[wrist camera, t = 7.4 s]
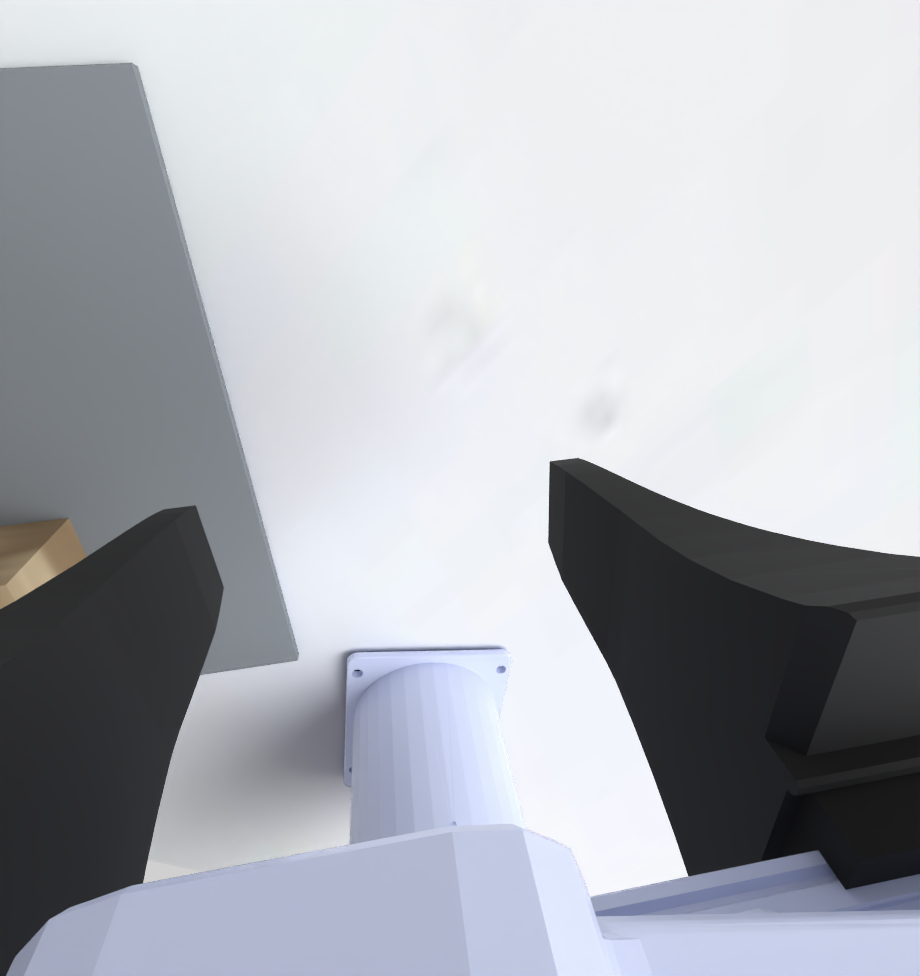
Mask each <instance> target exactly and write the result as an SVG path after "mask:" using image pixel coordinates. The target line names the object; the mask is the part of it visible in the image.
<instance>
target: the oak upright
mask: <svg viewBox="0 0 920 976" xmlns="http://www.w3.org/2000/svg"><path fill="white" fill-rule="evenodd" d="M86 557H87V555H86V553H85V551H84V549H83V547H82V545H81V543H80V541H79V538H78V536H77V534H76V532H75V530H74V528H73V526H72V524H71V522H70V519H69V518H67V519H58V520H50V521H41V522H33V523H25V524H16V525H8V526H0V609H1V608H3V607H5V606H7V605H9V604H10V603H12V602H14V601H16V600H17V599H19V598H21V597H23V596H24V595H26V594H28V593H29V592H31V591H33V590H34V589H36V588H37V587H39V586H41V585H42V584H44V583H46V582H47V581H49V580H50V579H52V578H54V577H55V576H57V575H59V574H60V573H62V572H63V571H65V570H67V569H68V568H70V567H72V566H73V565H75V564H76V563H78V562H80V561H81V560H83V559H84V558H86Z"/></svg>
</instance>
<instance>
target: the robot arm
mask: <svg viewBox="0 0 920 976" xmlns="http://www.w3.org/2000/svg"><path fill="white" fill-rule="evenodd" d="M548 543H549V546H550V549H551V551H552V554H553V557H554V560H555V563H556V566H557V568H558V571H559V573H560V576H561V579H562V581H563V583H564V585H565V587H566V589H567V590H568V592H569V594H570V596H571V598H572V600H573V602H574V604H575V605H576V607H577V609H578V611H579V613H580V615H581V616H582V618H583V620H584V622H585V624H586V626H587V627H588V629H589V631H590V633H591V635H592V637H593V638H594V640H595V642H596V644H597V646H598V648H599V649H600V651H601V653H602V655H603V657H604V658H605V660H606V662H607V664H608V666H609V668H610V670H611V672H612V674H613V677H614V679H615V681H616V683H617V685H618V688H619V690H620V693H621V695H622V697H623V700H624V702H625V705H626V707H627V710H628V712H629V715H630V717H631V719H632V722H633V724H634V727H635V729H636V732H637V735H638V737H639V740H640V742H641V745H642V748H643V750H644V753H645V755H646V758H647V760H648V763H649V766H650V768H651V771H652V773H653V776H654V779H655V782H656V784H657V787H658V790H659V793H660V796H661V798H662V801H663V804H664V807H665V809H666V812H667V815H668V818H669V821H670V823H671V826H672V829H673V832H674V834H675V837H676V840H677V843H678V846H679V849H680V852H681V855H682V858H683V861H684V864H685V867H686V870H687V873H688V876H689V877H684V878H680V879H675V880H670V881H665V882H660V883H655V884H650V885H646V886H641V887H636V888H631V889H626V890H621V891H616V892H611V893H607V894H602V895H597V896H592V897H590V896H589V893H588V890H587V886H586V883H585V880H584V878H583V876H582V873H581V871H580V869H579V867H578V864H577V862H576V860H575V858H574V855H573V853H572V851H571V849H570V848H568V847H567V846H565V845H563V844H561V843H559V842H557V841H555V840H552V839H550V838H547V837H545V836H542V835H540V834H537V833H535V832H532V831H530V830H527V829H526V825H525V821H524V817H523V813H522V809H521V805H520V800H519V796H518V792H517V788H516V784H515V780H514V776H513V772H512V768H511V764H510V760H509V756H508V752H507V748H506V744H505V740H504V736H503V732H502V728H501V724H500V716H501V711H502V706H503V701H504V697H505V692H506V687H507V683H508V678H509V673H510V668H511V664H512V657H511V654H510V652H509V651H507V650H503V649H498V650H450V651H401V652H357V653H353V654H351V655H350V656H349V657H348V659H347V678H346V716H345V754H344V784H345V785H346V786H348V787H351V818H350V845H345V846H340V847H335V848H329V849H324V850H319V851H313V852H308V853H303V854H297V855H292V856H287V857H281V858H276V859H271V860H265V861H260V862H255V863H249V864H244V865H238V866H233V867H228V868H222V869H217V870H212V871H206V872H201V873H196V874H191V875H185V876H180V877H175V878H169V879H164V880H158V881H153V882H149V883H143V880H144V875H145V869H146V864H147V860H148V855H149V851H150V846H151V841H152V837H153V832H154V827H155V823H156V818H157V814H158V809H159V805H160V801H161V797H162V793H163V788H164V784H165V780H166V776H167V772H168V768H169V764H170V760H171V756H172V753H173V749H174V746H175V743H176V740H177V737H178V734H179V731H180V728H181V725H182V722H183V720H184V717H185V714H186V712H187V709H188V706H189V703H190V701H191V698H192V695H193V692H194V690H195V687H196V684H197V682H198V679H199V676H200V673H201V671H202V668H203V665H204V662H205V660H206V657H207V654H208V651H209V648H210V646H211V643H212V640H213V637H214V634H215V631H216V627H217V622H218V617H219V613H220V607H221V602H222V596H223V590H224V586H223V583H222V580H221V577H220V574H219V571H218V569H217V566H216V563H215V560H214V557H213V554H212V551H211V548H210V545H209V542H208V540H207V537H206V534H205V531H204V528H203V525H202V522H201V519H200V516H199V513H198V510H197V508H196V505H194V506H186V507H178V508H170V509H163V510H161V511H159V512H157V513H155V514H153V515H151V516H149V517H148V518H146V519H144V520H143V521H141V522H139V523H138V524H136V525H135V526H133V527H131V528H130V529H128V530H127V531H125V532H124V533H122V534H121V535H119V536H118V537H116V538H115V539H113V540H112V541H110V542H108V543H107V544H105V545H104V546H102V547H101V548H99V549H98V550H96V551H95V552H93V553H92V554H90V555H89V556H87V557H86V558H84V559H83V560H81V561H80V562H78V563H76V564H75V565H73V566H72V567H70V568H68V569H67V570H65V571H63V572H62V573H60V574H59V575H57V576H55V577H54V578H52V579H50V580H49V581H47V582H46V583H44V584H42V585H41V586H39V587H37V588H36V589H34V590H33V591H31V592H29V593H28V594H26V595H24V596H23V597H21V598H19V599H17V600H16V601H14V602H12V603H10V604H9V605H7V606H5V607H3V608H1V609H0V976H920V557H915V556H905V555H895V554H887V553H880V552H874V551H867V550H861V549H854V548H848V547H842V546H836V545H830V544H825V543H820V542H814V541H809V540H805V539H800V538H796V537H792V536H787V535H783V534H778V533H774V532H770V531H766V530H762V529H758V528H755V527H751V526H747V525H744V524H741V523H737V522H734V521H731V520H728V519H724V518H721V517H718V516H715V515H712V514H709V513H706V512H703V511H700V510H698V509H695V508H692V507H690V506H687V505H685V504H682V503H680V502H677V501H675V500H672V499H670V498H667V497H665V496H662V495H660V494H658V493H655V492H653V491H651V490H649V489H646V488H644V487H642V486H640V485H638V484H636V483H633V482H631V481H629V480H627V479H625V478H623V477H621V476H619V475H616V474H614V473H612V472H610V471H608V470H606V469H604V468H602V467H599V466H597V465H595V464H593V463H590V462H588V461H585V460H582V459H579V458H575V459H567V460H558V461H550V478H549V536H548ZM499 666H502V667H499ZM498 667H499V668H498ZM357 669H358V670H361V671H354V670H357Z"/></svg>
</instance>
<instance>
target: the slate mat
mask: <svg viewBox="0 0 920 976" xmlns="http://www.w3.org/2000/svg"><path fill="white" fill-rule="evenodd" d="M194 505H196V508H197V510H198V513H199V516H200V519H201V522H202V525H203V528H204V531H205V534H206V537H207V540H208V542H209V545H210V548H211V551H212V554H213V557H214V560H215V563H216V566H217V569H218V571H219V574H220V577H221V580H222V583H223V586H224V590H223V596H222V602H221V607H220V613H219V617H218V622H217V627H216V631H215V634H214V637H213V640H212V643H211V646H210V648H209V651H208V654H207V657H206V660H205V662H204V665H203V668H202V671H201V673H200V675H203V674H210V673H217V672H223V671H230V670H237V669H243V668H250V667H257V666H264V665H270V664H277V663H284V662H290V661H297V660H298V655H299V653H298V650H297V646H296V642H295V639H294V635H293V631H292V628H291V624H290V620H289V617H288V613H287V609H286V606H285V602H284V598H283V595H282V591H281V588H280V584H279V580H278V577H277V573H276V569H275V566H274V562H273V558H272V555H271V551H270V547H269V544H268V540H267V536H266V533H265V529H264V526H263V522H262V518H261V515H260V511H259V507H258V504H257V500H256V496H255V493H254V489H253V485H252V482H251V478H250V474H249V471H248V467H247V464H246V460H245V456H244V453H243V449H242V445H241V442H240V438H239V434H238V431H237V427H236V423H235V420H234V416H233V412H232V409H231V405H230V401H229V398H228V394H227V391H226V387H225V383H224V380H223V376H222V372H221V369H220V365H219V361H218V358H217V354H216V350H215V347H214V343H213V339H212V336H211V332H210V329H209V325H208V321H207V318H206V314H205V310H204V307H203V303H202V299H201V296H200V292H199V288H198V285H197V281H196V277H195V274H194V270H193V267H192V263H191V259H190V256H189V252H188V248H187V245H186V241H185V237H184V234H183V230H182V226H181V223H180V219H179V215H178V212H177V208H176V204H175V201H174V197H173V194H172V190H171V186H170V183H169V179H168V175H167V172H166V168H165V164H164V161H163V157H162V153H161V150H160V146H159V142H158V139H157V135H156V132H155V128H154V124H153V121H152V117H151V113H150V110H149V106H148V102H147V99H146V95H145V91H144V88H143V84H142V80H141V77H140V73H139V69H138V66H136V65H135V64H133V63H121V64H96V65H72V66H47V67H22V68H0V526H8V525H16V524H25V523H33V522H41V521H50V520H58V519H67V518H69V519H70V522H71V524H72V526H73V528H74V530H75V532H76V534H77V536H78V538H79V541H80V543H81V545H82V547H83V549H84V551H85V553H86V555H87V556H89V555H90V554H92V553H93V552H95V551H96V550H98V549H99V548H101V547H102V546H104V545H105V544H107V543H108V542H110V541H112V540H113V539H115V538H116V537H118V536H119V535H121V534H122V533H124V532H125V531H127V530H128V529H130V528H131V527H133V526H135V525H136V524H138V523H139V522H141V521H143V520H144V519H146V518H148V517H149V516H151V515H153V514H155V513H157V512H159V511H161V510H163V509H170V508H178V507H186V506H194Z"/></svg>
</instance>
